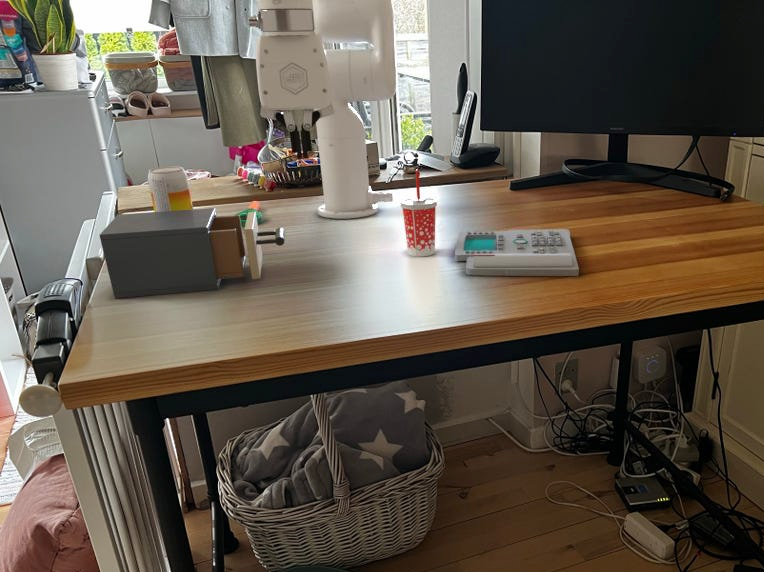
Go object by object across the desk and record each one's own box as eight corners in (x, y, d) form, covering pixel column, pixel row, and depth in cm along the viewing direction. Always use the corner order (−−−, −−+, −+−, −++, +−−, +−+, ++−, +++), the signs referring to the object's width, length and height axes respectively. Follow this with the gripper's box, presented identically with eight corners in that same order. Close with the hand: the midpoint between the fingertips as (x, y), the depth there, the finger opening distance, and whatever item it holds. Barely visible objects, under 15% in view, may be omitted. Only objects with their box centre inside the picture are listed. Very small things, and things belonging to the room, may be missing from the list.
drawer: (288, 255, 122) (282, 209, 119) (288, 276, 112) (281, 226, 109) (177, 264, 119) (167, 217, 115) (166, 287, 109) (155, 235, 105)
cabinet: (224, 265, 121) (215, 207, 117) (218, 289, 110) (207, 226, 106) (130, 273, 118) (117, 214, 114) (114, 298, 107) (99, 234, 103)
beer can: (207, 252, 128) (192, 165, 122) (192, 263, 122) (174, 172, 116) (175, 252, 128) (157, 165, 122) (157, 262, 123) (138, 172, 117)
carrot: (260, 225, 145) (258, 217, 144) (228, 226, 144) (227, 218, 143) (270, 208, 158) (269, 200, 158) (242, 209, 158) (241, 201, 157)
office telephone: (580, 261, 111) (450, 261, 112) (580, 277, 113) (451, 277, 113) (568, 221, 132) (459, 222, 133) (568, 235, 134) (459, 236, 134)
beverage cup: (444, 249, 127) (441, 167, 121) (431, 259, 122) (426, 174, 116) (412, 246, 129) (407, 166, 123) (397, 256, 124) (392, 172, 118)
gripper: (230, 25, 98) (250, 164, 106) (342, 23, 101) (354, 158, 109) (234, 26, 105) (252, 156, 112) (339, 24, 108) (350, 151, 116)
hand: (302, 157), depth 111 cm, fingers closed
